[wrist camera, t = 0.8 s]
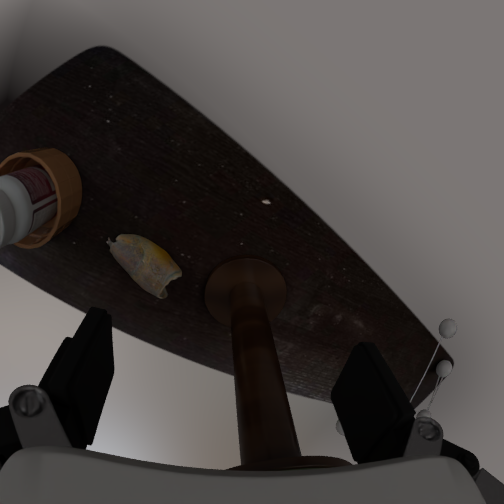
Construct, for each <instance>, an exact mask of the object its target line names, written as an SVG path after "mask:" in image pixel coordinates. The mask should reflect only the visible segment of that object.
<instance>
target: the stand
mask: <svg viewBox="0 0 504 504" xmlns="http://www.w3.org/2000/svg"><path fill="white" fill-rule="evenodd" d="M204 297H205V303H206V306H207V309H208V311H209V312H210V314H211V315H212V316H213V317H214V318H215V319H216V320H217V321H218V322H220V323H221V324H223V325H225V326H227V327H230V328H231V334H232V350H233V366H234V380H235V394H236V408H237V420H238V433H239V444H240V457H241V465H240V466H236V467H233V468H229V469H226V470H235V471H282V470H290V469H301V468H331V467H341V466H349V465H352V464H351V463H350V462H347V461H346V460H343V459H340V458H335V457H328V456H301V452H300V447H299V443H298V439H297V435H296V431H295V427H294V423H293V419H292V414H291V410H290V406H289V402H288V398H287V393H286V389H285V385H284V381H283V377H282V373H281V369H280V364H279V360H278V356H277V352H276V348H275V344H274V339H273V335H272V331H271V327H270V323H269V322H270V321H272V320H273V319H274V318H275V317H276V316H277V315H278V314H279V313H280V312H281V310H282V309H283V306H284V304H285V301H286V297H287V288H286V284H285V280H284V278H283V276H282V274H281V272H280V271H279V269H278V268H277V267H276V266H275V265H274V264H273V263H271V262H270V261H268V260H266V259H264V258H262V257H259V256H254V255H239V256H234V257H231V258H229V259H226V260H224V261H223V262H221V263H220V264H218V265H217V266H216V267H215V268H214V269H213V270H212V272H211V273H210V275H209V277H208V278H207V281H206V285H205V293H204Z"/></svg>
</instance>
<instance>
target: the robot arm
mask: <svg viewBox="0 0 504 504" xmlns="http://www.w3.org/2000/svg"><path fill="white" fill-rule="evenodd" d="M113 375H114V356H113V342H112V318H111V315H110V314H107V311H106V310H105V309H100V308H96V307H91V308H90V309H89V311H88V313H87V314H86V316H85V318H84V319H83V321H82V323H81V325H80V326H79V328H78V330H77V331H76V333H75V335H74V336H73V338H70V337H66V338H65V339H64V340H63V342H62V344H61V346H60V347H59V349H58V351H57V353H56V354H55V356H54V358H53V359H52V361H51V363H50V365H49V367H48V369H47V370H46V372H45V374H44V376H43V378H42V380H41V381H40V383H39V385H38V386H35V385H23V386H21V387H18V388H17V389H15V390H14V391H13V392H12V394H11V395H10V397H9V401H8V402H9V405H8V406H4V407H1V408H0V504H504V484H502V483H501V482H500V481H499V480H497V479H496V478H495V477H494V476H492V475H491V474H490V473H489V472H487V471H486V470H485V469H484V468H482V469H481V470H479V461H478V459H477V458H476V456H475V455H474V454H473V453H471V452H470V451H467V450H465V449H463V448H461V447H459V446H457V445H455V444H453V443H451V442H449V441H446V440H444V439H443V430H442V427H441V426H440V425H439V423H438V422H436V421H435V420H433V419H432V418H429V417H425V416H422V417H418V418H417V419H415V418H414V415H415V414H416V412H415V410H414V408H413V407H412V405H411V403H410V402H409V400H408V398H407V396H406V395H405V393H404V391H403V390H402V388H401V386H400V385H399V383H398V381H397V380H396V378H395V376H394V375H393V373H392V371H391V370H390V368H389V366H388V365H387V363H386V362H385V360H384V358H383V357H382V355H381V354H380V352H379V350H378V349H377V347H376V346H375V344H374V343H370V342H360V343H358V345H356V346H354V348H353V350H352V352H351V354H350V356H349V358H348V360H347V362H346V364H345V366H344V368H343V370H342V372H341V374H340V376H339V378H338V380H337V382H336V384H335V385H334V387H333V389H332V391H331V400H332V402H333V405H334V407H335V410H336V413H337V416H338V419H339V421H340V424H341V427H342V429H343V432H344V435H345V438H346V440H347V443H348V446H349V449H350V451H351V454H352V457H353V459H354V461H356V462H357V463H358V464H356V465H349V466H341V467H331V468H321V469H307V470H289V471H235V470H216V469H203V468H192V467H183V466H175V465H167V464H160V463H154V462H147V461H141V460H136V459H130V458H125V457H120V456H115V455H110V454H105V453H100V452H95V451H90V450H86V447H87V445H92V443H93V440H94V436H95V433H96V430H97V426H98V423H99V419H100V416H101V413H102V409H103V406H104V403H105V400H106V397H107V394H108V391H109V388H110V385H111V381H112V379H113Z"/></svg>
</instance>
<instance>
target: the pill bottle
mask: <svg viewBox="0 0 504 504" xmlns="http://www.w3.org/2000/svg"><path fill="white" fill-rule="evenodd" d="M57 203H58V199H57V195H56V190H55V185H54V183H53V181H52V179H51V177H50V175H49V173H48V172H47V171H46V169H45V168H44V167H43V166H42V165H41V164H38V165H34V166H31V167H27V168H24V169H21V170H18V171H15V172H12V173H9V174H6V175H2V176H0V248H2V247H4V246H5V245H6V244H14V243H16V242H18V241H20V240H22V239H23V238H24V237H26V236H27V235H29V234H30V233H32V232H33V231H34V230H36V229H37V228H39V227H40V226H42V225H43V224H45V223H46V222H48V221H50V220H51V219H52V218H54V217H56V216H57Z"/></svg>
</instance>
